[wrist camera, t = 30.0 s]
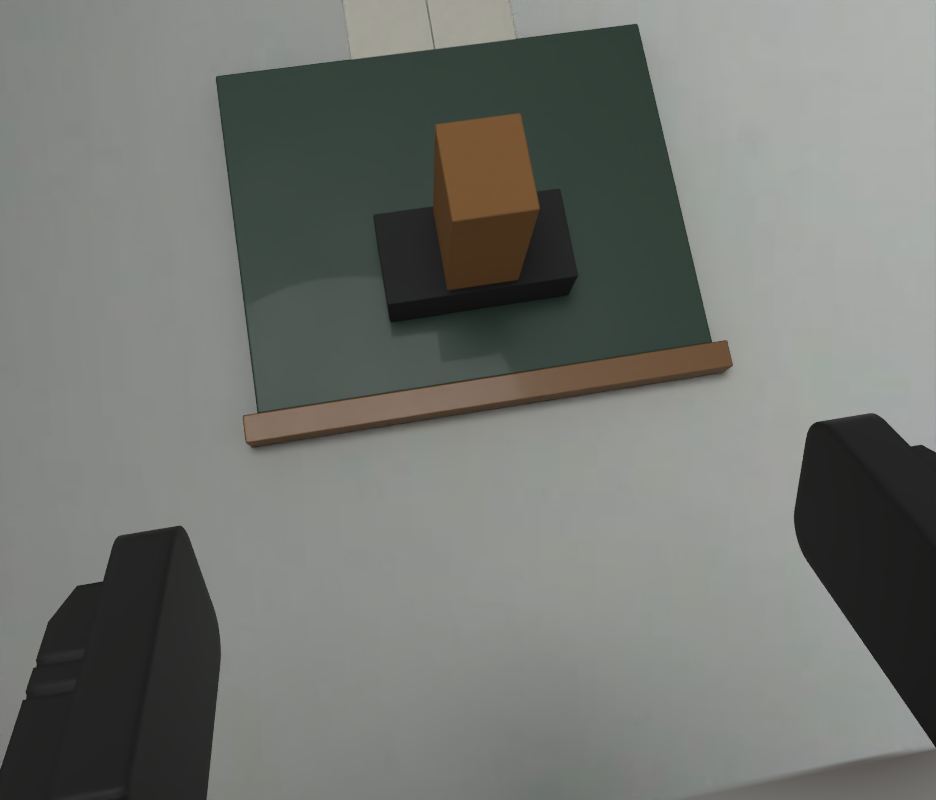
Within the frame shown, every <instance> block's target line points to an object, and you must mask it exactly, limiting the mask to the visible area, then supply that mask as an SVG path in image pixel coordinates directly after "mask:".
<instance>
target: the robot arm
mask: <svg viewBox="0 0 936 800" xmlns="http://www.w3.org/2000/svg"><path fill="white" fill-rule="evenodd" d="M794 525H795V531H796V536H797V540H798V543H799V546H800V548H801V551H802V553H803V555H804V557H805V558H806V560H807V562H808V563H809V565H810V566H811V567H812V569H813V570H814V572H815V573H816V575H817V576H818V578H819V579H820V580H821V582H822V583H823V585H824V586H825V588H826V589H827V591H828V592H829V593H830V595H831V596H832V598H833V599H834V601H835V602H836V604H837V605H838V607H839V608H840V609H841V611H842V612H843V614H844V615H845V617H846V618H847V620H848V621H849V622H850V624H851V625H852V627H853V628H854V630H855V631H856V633H857V634H858V635H859V637H860V638H861V640H862V641H863V643H864V644H865V646H866V647H867V649H868V650H869V651H870V653H871V654H872V656H873V657H874V659H875V660H876V662H877V663H878V664H879V666H880V667H881V669H882V670H883V672H884V673H885V675H886V676H887V677H888V679H889V680H890V682H891V683H892V685H893V686H894V688H895V689H896V691H897V692H898V693H899V695H900V696H901V698H902V699H903V701H904V702H905V704H906V705H907V706H908V708H909V709H910V711H911V712H912V714H913V715H914V717H915V718H916V719H917V721H918V722H919V724H920V725H921V727H922V728H923V730H924V731H925V733H926V734H927V735H928V737H929V738H930V740H931V741H932V743H933V744H934V746H935V747H936V452H934V451H932V450H930V449H928V448H926V447H925V446H923V445H917V446H911V447H910V446H909V444H908V443H907V442H906V441H905V440H904V439H903V438H902V437H901V436H900V435H899V434H898V433H897V432H896V431H895V430H894V429H893V428H892V427H891V426H890V425H889V424H888V423H887V422H886V421H885V420H884V419H883V418H881V417H880V416H878V415H876V414H873V413H869V414H863V415H857V416H851V417H845V418H839V419H833V420H827V421H821V422H816V423H814V424H813V425H812V426H811V427H810V428H809V430H808V433H807V437H806V443H805V449H804V455H803V461H802V467H801V473H800V479H799V486H798V492H797V498H796V504H795V511H794ZM220 660H221V646H220V634H219V627H218V622H217V617H216V613H215V610H214V607H213V604H212V601H211V599H210V596H209V593H208V590H207V587H206V584H205V582H204V579H203V576H202V573H201V570H200V567H199V565H198V562H197V559H196V556H195V553H194V550H193V548H192V545H191V542H190V539H189V537H188V534H187V532H186V530H185V529H184V528H183V527H182V526H175V527H169V528H163V529H157V530H151V531H145V532H139V533H133V534H127V535H121V536H118V537H117V538H116V540H115V541H114V544H113V547H112V550H111V554H110V558H109V561H108V565H107V569H106V573H105V576H104V580H103V582H97V583H91V584H86V585H80V586H77V587H76V588H75V589H74V590H73V592H72V593H71V594H70V595H69V597H68V598H67V599H66V600H65V602H64V603H63V604H62V605H61V607H60V608H59V609H58V611H57V612H56V613H55V614H54V616H53V617H52V618H51V619H50V621H49V622H48V625H47V628H46V631H45V634H44V637H43V640H42V643H41V646H40V649H39V652H38V656H37V659H36V662H37V667H35V668H33V671H32V674H31V677H30V680H29V683H28V686H27V689H26V695H27V697H26V700H23V702H22V705H21V708H20V711H19V714H18V717H17V720H16V723H15V726H14V729H13V732H12V735H11V739H10V742H9V745H8V748H7V751H6V754H5V757H4V760H3V763H2V766H1V769H0V800H206V799H207V789H208V779H209V770H210V760H211V750H212V740H213V730H214V720H215V711H216V701H217V691H218V681H219V671H220Z"/></svg>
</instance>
